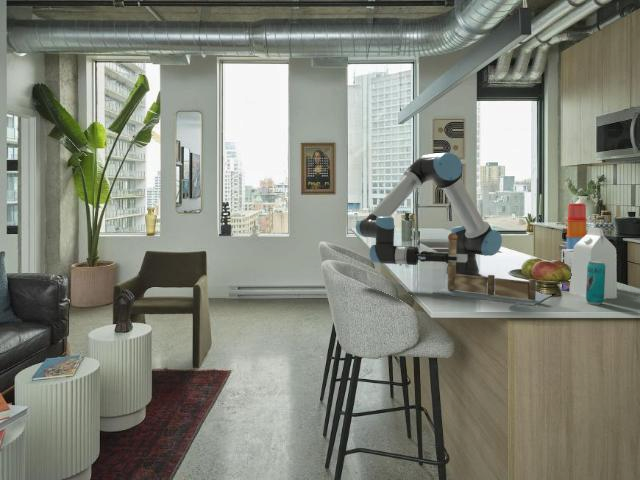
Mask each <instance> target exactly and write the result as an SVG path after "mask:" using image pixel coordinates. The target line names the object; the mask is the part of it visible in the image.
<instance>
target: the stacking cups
mask: <svg viewBox="0 0 640 480" xmlns="http://www.w3.org/2000/svg"><path fill="white" fill-rule="evenodd" d="M586 213H587V210H586V204H585V203H568V205H567V219H566V222H567V223H566V224H567V225H566V226H567V229H566V234H565V237H566V248H565V249H574V246H575V245H576V243H577V242H579V241H580V240H581V239H582V238H583V237H584V236H585V235H587V221H588V219H587V214H586Z"/></svg>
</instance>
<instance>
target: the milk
mask: <svg viewBox="0 0 640 480" xmlns="http://www.w3.org/2000/svg"><path fill="white" fill-rule="evenodd" d="M586 233H587V235H585V236H584V237H583V238H582V239H581V240H580V241H579V242H577V243H576V245H575V246H574V249H573V259H572V269H571V273H572V276H571V279H570V290H568V293H569V294H570V295H573V296H574V295H575V296H577V297H580V298H584V299H586V285H587V265H588V263H589V261H603V262H605V263H604V264H605V266H606V267H605V288H604V300H605V299H607V298H608V299H618V297H617V295H618V292H617V291H618V290H617V289H618V287H617V285H618V284H617V279H618V278H617V249H616V247H615V245H613V243H612V242H611V241H609V240H608V239H607V237H606V236H605V234H604V229H603V228H601V227H592V226H591V227H588V229H587V231H586Z"/></svg>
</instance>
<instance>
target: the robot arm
mask: <svg viewBox="0 0 640 480" xmlns="http://www.w3.org/2000/svg"><path fill="white" fill-rule="evenodd" d="M462 163H463V162H462V161H461V159H460V158H459V156H458V155H457V154H455V153H453V152H438V153H427V154H423V155H422V156H420V157H419V158H417V159H416V160H415V161H414V162H413V163H412V164H410V166H408V168H406V170H405V171H404V172H403V177H402V178H401V179H400V180H399V181H398V182H397V183H396V184H395V186H393V188H392V189H391V190H390V191H389V192H388V193H387V194H386V196H385V197H384V198H383V199H382V200H381V201H380V202H379V204H377V205H376V207H375V208H374V209H373V210H372V212H370V213H369V214H368V216H367V217H366V218H363V219H360V220H359V221H357V223H356V226H355V230H356V231H355V232H356V233H357V234H358V235H359V236H360V237H364V238H373V239H375V244H372V245H371V246H370V248H369V259H370V261H371V262H372V263H375V264H376V263H377V264H378V263H379V264H385V265H386V264H387V265H388V264H389V265H390V264H391V265H399V266H400V267H401V266H402V265H408V266H416V265H418V263H419V262H423V263H424V262H429V263H430V262H435V263H436V262H437V263H438V262H439V263H441V262H442V263H445V264H448V260H449V262H456V274H460V275H470V276H478V275H479V274H480V273H479V272H480V271H479V270H480V269H479V265H478V261H477V259H476V255H480V256H484V257H485V256H490V257H491V256H494V255H496V254H497V253H498V252H499V251H500V249H501V247H502V243H503V237H502V235H501V233H500V232H499V231H497V230H495V229H492V227H491V225H490V223H489V222H487V221H484V219H483V217H482V215H481V214H480V212H479V211H478V207H476V205H475V203H474V202H473V199H472V198H471V196H470V194H469V193H468V191H467V189H466V187H465V185H464V183H463V181H462V178H463V173H462V172H463V169H462V167H463V164H462ZM430 181H434V183H435V185H436V187H437V188H438V189H439V190H443V191H444V193H445V195H446V197H447V198H448V201H449V202H450V204H451V206H452V208H453V210H454V212H455V213H456V215H457V216H458V218H459V220H460V222H461V224H462V226H460V225H459V226H454V227H452V228H451V231H450V232H451V233H455V234H456V235H457V244H456V255H449V256H448V252H436V251H435V252H434V251H428V250H427V251H426V250H422V251H421V252H419V248H418V246H411V245H410V246H407V245H395V218H394V217H393V214H394V213H395V212H396V211H397V210H398V209H400V207H401V205H402V204H403V203H404V202H405V201H406V199H408V198H409V197H410V196H411V194H412V193H413V192H414V191H415V190H416V189H417V188H420V187H421V186H423V184H424V183H426V182H430ZM451 233H450V234H451ZM446 274H447V275H448V265H447V267H446Z"/></svg>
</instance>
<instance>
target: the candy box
mask: <svg viewBox="0 0 640 480" xmlns="http://www.w3.org/2000/svg"><path fill="white" fill-rule="evenodd" d="M572 259H573V249H566V248H561V262H563V263H565V264H567V265H568V266H569V267H570V268H571V269H572ZM560 290H561V291H569V290H570V283H563V284H560Z"/></svg>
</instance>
